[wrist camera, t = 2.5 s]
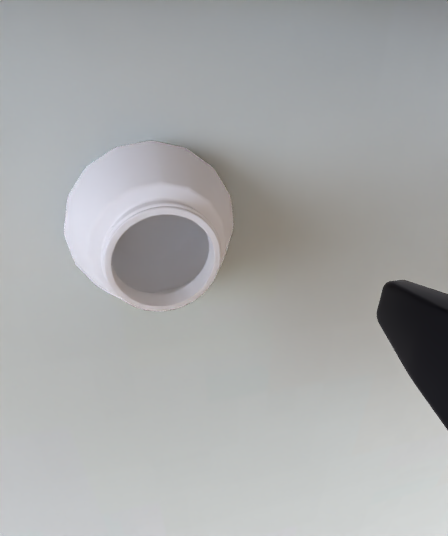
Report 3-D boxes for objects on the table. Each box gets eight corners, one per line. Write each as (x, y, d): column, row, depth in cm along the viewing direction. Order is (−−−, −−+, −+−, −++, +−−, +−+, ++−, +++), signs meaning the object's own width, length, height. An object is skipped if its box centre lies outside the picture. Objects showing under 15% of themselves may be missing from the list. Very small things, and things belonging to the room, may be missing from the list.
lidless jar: (255, 196, 14) (123, 102, 11) (291, 232, 11) (132, 121, 9) (171, 308, 15) (35, 245, 12) (186, 362, 12) (21, 297, 10)
